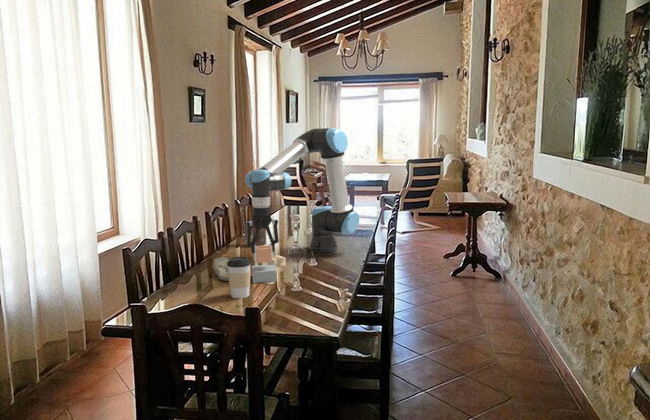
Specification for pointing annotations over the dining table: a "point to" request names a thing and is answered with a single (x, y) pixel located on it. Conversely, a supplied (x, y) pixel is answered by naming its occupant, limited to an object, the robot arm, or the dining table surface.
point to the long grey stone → (221, 268)
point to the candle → (260, 236)
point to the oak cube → (278, 263)
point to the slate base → (264, 273)
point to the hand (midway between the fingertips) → (263, 259)
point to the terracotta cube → (264, 254)
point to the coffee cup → (239, 276)
